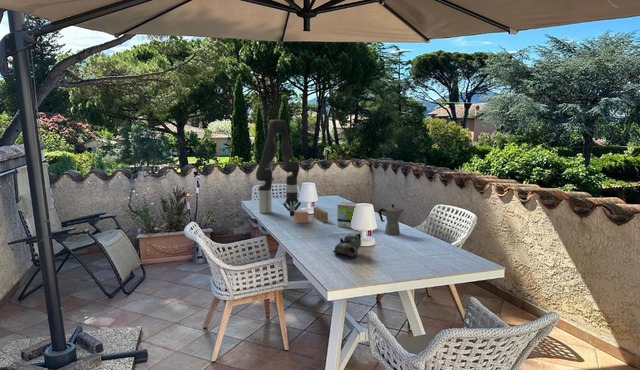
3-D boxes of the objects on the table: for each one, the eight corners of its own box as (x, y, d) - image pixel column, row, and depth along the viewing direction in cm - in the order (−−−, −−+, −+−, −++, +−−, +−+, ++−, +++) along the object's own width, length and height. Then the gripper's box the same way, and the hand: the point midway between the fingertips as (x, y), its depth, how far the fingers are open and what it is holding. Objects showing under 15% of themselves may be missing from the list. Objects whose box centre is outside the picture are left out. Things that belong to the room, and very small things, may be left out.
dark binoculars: (330, 252, 224) (340, 227, 227) (351, 260, 225) (360, 235, 228) (335, 252, 210) (345, 226, 212) (358, 261, 211) (368, 235, 213)
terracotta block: (293, 220, 296) (293, 210, 295) (304, 219, 298) (304, 209, 297) (297, 223, 288) (296, 213, 287) (308, 222, 291) (308, 212, 290)
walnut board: (313, 216, 307) (313, 207, 306) (317, 216, 308) (317, 207, 307) (323, 223, 289) (323, 212, 288) (327, 222, 290) (327, 212, 289)
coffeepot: (401, 231, 266) (402, 202, 264) (404, 235, 257) (405, 205, 254) (376, 231, 266) (377, 203, 263) (379, 235, 256) (379, 206, 254)
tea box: (337, 226, 278) (337, 204, 276) (342, 223, 288) (342, 201, 285) (359, 228, 273) (359, 206, 271) (363, 225, 282) (363, 203, 280)
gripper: (299, 189, 294) (299, 214, 296) (280, 190, 289) (281, 215, 292) (302, 191, 287) (303, 216, 289) (283, 192, 282) (284, 218, 285)
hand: (292, 216), depth 291 cm, fingers closed
